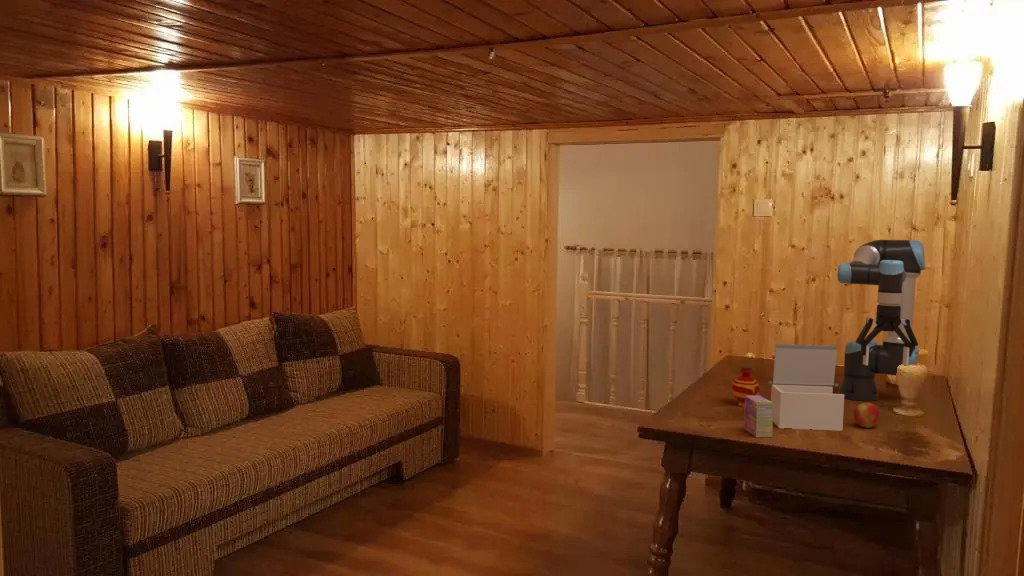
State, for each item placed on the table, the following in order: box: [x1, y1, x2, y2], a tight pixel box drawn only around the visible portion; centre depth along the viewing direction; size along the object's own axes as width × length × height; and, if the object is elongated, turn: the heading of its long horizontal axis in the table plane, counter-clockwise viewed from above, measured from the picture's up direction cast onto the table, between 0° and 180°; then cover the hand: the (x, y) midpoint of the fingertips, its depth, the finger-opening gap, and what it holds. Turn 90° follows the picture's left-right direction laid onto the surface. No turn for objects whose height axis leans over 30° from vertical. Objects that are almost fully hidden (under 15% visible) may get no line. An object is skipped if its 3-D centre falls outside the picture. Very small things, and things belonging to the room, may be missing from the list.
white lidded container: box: [767, 380, 845, 432], centre depth 268 cm, size 24×14×14 cm, turn 85°
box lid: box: [772, 343, 838, 387], centre depth 272 cm, size 21×14×1 cm
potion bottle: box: [730, 365, 760, 408], centre depth 295 cm, size 10×10×15 cm
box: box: [743, 395, 774, 438], centre depth 256 cm, size 10×6×12 cm, turn 5°
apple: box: [853, 399, 880, 429], centre depth 266 cm, size 8×8×10 cm
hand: (885, 365), depth 266 cm, fingers open, 13 cm apart
